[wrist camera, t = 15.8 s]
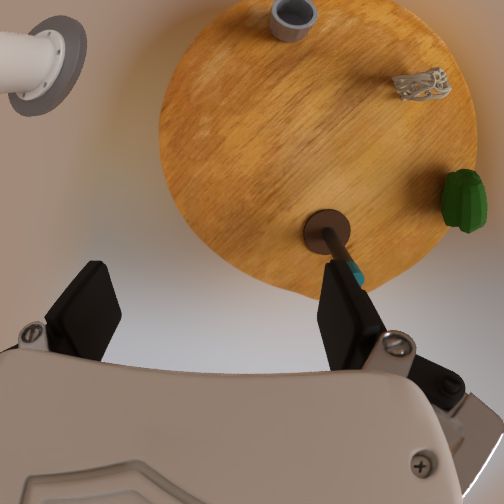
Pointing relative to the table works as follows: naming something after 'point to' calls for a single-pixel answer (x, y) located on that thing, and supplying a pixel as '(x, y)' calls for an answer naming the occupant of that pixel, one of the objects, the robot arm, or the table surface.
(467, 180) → the bell pepper
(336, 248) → the marker
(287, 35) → the pot
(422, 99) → the bracelet
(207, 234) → the table surface
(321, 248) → the coaster
